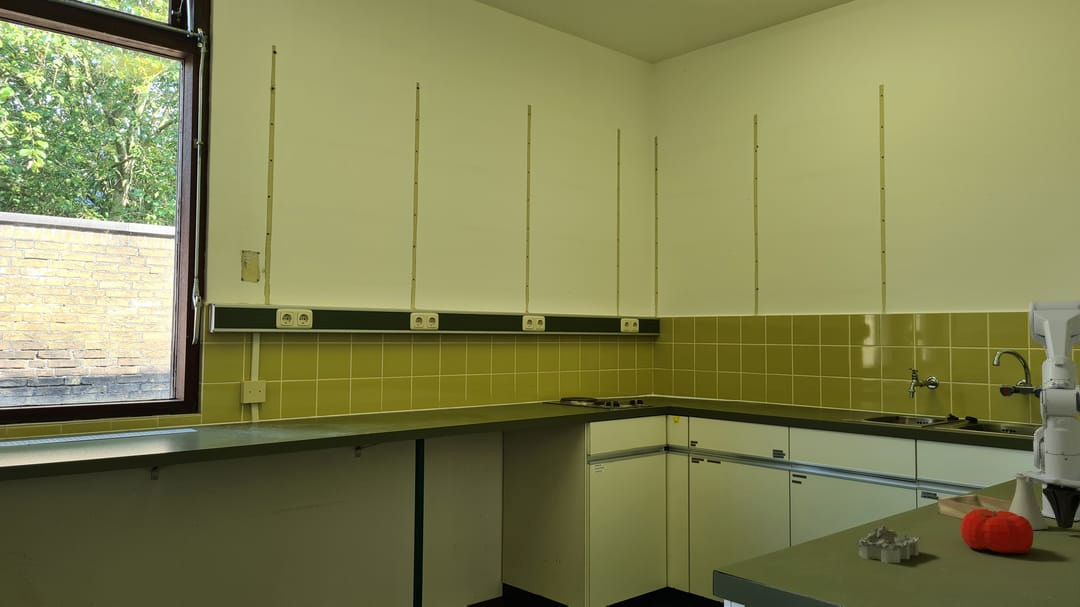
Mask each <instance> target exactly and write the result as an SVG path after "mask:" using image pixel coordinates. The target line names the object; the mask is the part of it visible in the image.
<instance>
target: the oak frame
mask: <svg viewBox="0 0 1080 607" xmlns="http://www.w3.org/2000/svg"><path fill="white" fill-rule="evenodd" d="M1011 504H1012V501H1011V500H1007V499H1006V500H1005V499H1000V498H997V497H991V496H985V495H980V494H967V495H957V496H949V497H948V496H947V497H941V498H937V513H938V514H941V515H944V516H947V517H948V516H949V517H953V518H958V519H963V518H964V517H965V516H966V514H968V513H969V512H971V511H972V510H974V509H985V510H990V511H992V512H993V511H996V512H998V511H1007V512H1009V509H1010V507H1011Z"/></svg>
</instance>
